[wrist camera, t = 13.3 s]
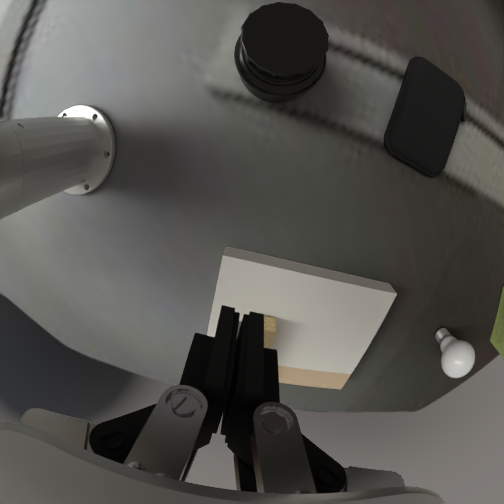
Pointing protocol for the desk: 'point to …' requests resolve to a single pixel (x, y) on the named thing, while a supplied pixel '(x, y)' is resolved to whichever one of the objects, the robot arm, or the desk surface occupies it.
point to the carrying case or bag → (425, 117)
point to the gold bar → (269, 331)
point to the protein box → (499, 328)
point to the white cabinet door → (305, 313)
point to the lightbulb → (455, 354)
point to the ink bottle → (281, 52)
